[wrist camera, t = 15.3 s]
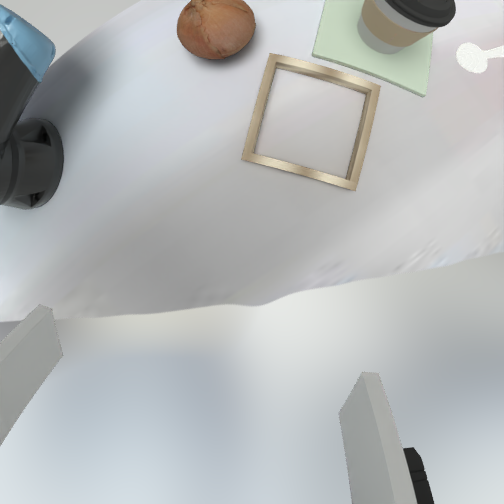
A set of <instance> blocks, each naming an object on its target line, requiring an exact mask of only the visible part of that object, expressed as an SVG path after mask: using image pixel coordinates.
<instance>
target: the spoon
mask: <svg viewBox="0 0 504 504" xmlns="http://www.w3.org/2000/svg"><path fill="white" fill-rule="evenodd" d="M496 57H504V45H503V46H500V47H497V48H494V49H490V50H486V51H483V50H481V49H480V48H479V47H478V46H477V45H474V44H473V43H463V44H462V45H460V46H459V47H458V49H457V51H456V59H457V61H458V63H459V64H460V66H461V67H463V68H464V69H465V70H467V71H469V72H472V73H482V72H484V71H485V70H486V68H487V60H488V59H489V58H496Z"/></svg>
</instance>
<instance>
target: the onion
mask: <svg viewBox="0 0 504 504" xmlns="http://www.w3.org/2000/svg"><path fill="white" fill-rule="evenodd" d="M255 26H256V23H255V20H254V14H253V11H252V10H251V8H250V7H249V6H248V5H247V4H246V3H245V2H244V1H243V0H191V1H190V2H189V3H188V4H187V5H186V6H185V7H184V9H183V10H182V12H181V14H180V16H179V18H178V23H177V35H178V38H179V40H180V42H181V43H182V45H183V46H184V47H185V48H186V49H187V50H188V51H189V52H191V53H192V54H194V55H196V56H199V57H202V58H207V59H225V58H226V57H228V56H231V55H233V54H235V53H237V52H238V51H240V50H241V49H242V48H243V47H244V46H245V45H246V44H247V43H248V42H249V41H250V39H251V38H252V36H253V34H254V30H255Z"/></svg>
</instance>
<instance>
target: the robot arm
mask: <svg viewBox="0 0 504 504" xmlns="http://www.w3.org/2000/svg"><path fill="white" fill-rule="evenodd" d="M55 50H56V49H55V45H54V44H53V42H52V41H51V40H50V39H48V38H47V37H46V36H45V35H44V34H43V33H41V32H40V31H39V30H38V29H36V28H35V27H34V26H32V25H31V24H30V23H28V22H27V21H26V20H24V19H23V18H21V17H20V16H19V15H17V14H15V13H14V12H13V11H11V10H9V9H7V8H6V7H4V6H3V5H0V205H6V206H10V207H14V208H19V209H32V208H36V207H39V206H42V205H43V204H45V203H46V202H47V201H48V200H49V199H50V198H51V197H52V195H53V194H54V192H55V190H56V189H57V186H58V184H59V181H60V178H61V174H62V168H63V148H62V142H61V139H60V136H59V134H58V132H57V130H56V128H55V127H54V126H53V125H52V124H51V123H50V122H49V121H47V120H44V119H37V118H29V119H25V120H22V121H19V122H18V120H19V118H20V116H21V114H22V113H23V111H24V109H25V107H26V105H27V103H28V102H29V100H30V98H31V96H32V95H33V93H34V91H35V89H36V88H37V86H38V84H39V83H41V82H42V77H43V75H44V74H45V72H46V70H47V69H48V67H49V65H50V64H51V62H52V60H53V59H54V56H55ZM62 356H63V353H62V349H61V345H60V342H59V338H58V334H57V330H56V326H55V321H54V317H53V312H52V309H51V308H48V307H45V306H42V305H40V304H39V305H38V306H37V307H36V308H35V309H34V310H33V311H32V312H31V313H30V314H29V315H28V316H27V317H26V318H25V319H24V320H23V321H22V322H21V323H20V324H19V325H18V326H17V327H16V328H15V329H14V330H13V331H12V332H11V333H10V334H9V335H8V336H7V337H6V338H5V339H4V340H3V341H2V342H1V343H0V446H1V444H2V443H3V441H4V439H5V438H6V436H7V435H8V433H9V431H10V430H11V428H12V427H13V425H14V424H15V422H16V421H17V419H18V418H19V416H20V415H21V413H22V411H23V410H24V409H25V407H26V406H27V404H28V403H29V401H30V400H31V399H32V397H33V396H34V394H35V393H36V391H37V390H38V389H39V387H40V386H41V385H42V383H43V382H44V380H45V379H46V378H47V376H48V375H49V374H50V372H51V371H52V369H53V368H54V367H55V366H56V364H57V363H58V362H59V360H60V359H61V358H62ZM339 418H340V424H341V430H342V436H343V443H344V449H345V455H346V462H347V469H348V476H349V484H350V491H351V499H352V504H434V501H433V497H432V493H431V490H430V486H429V482H428V480H427V475H426V472H425V471H424V465H423V462H422V459H421V457H420V455H419V454H418V453H417V452H416V450H415V449H414V448H413V447H412V448H404V449H403V447H402V444H401V441H400V437H399V434H398V431H397V428H396V424H395V421H394V418H393V415H392V412H391V409H390V406H389V402H388V400H387V396H386V393H385V391H384V388H383V385H382V382H381V380H380V376H379V374H378V373H368V372H362V373H361V375H360V377H359V379H358V380H357V382H356V384H355V386H354V388H353V390H352V391H351V393H350V395H349V396H348V398H347V400H346V402H345V404H344V405H343V407H342V409H341V410H340V412H339Z"/></svg>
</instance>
